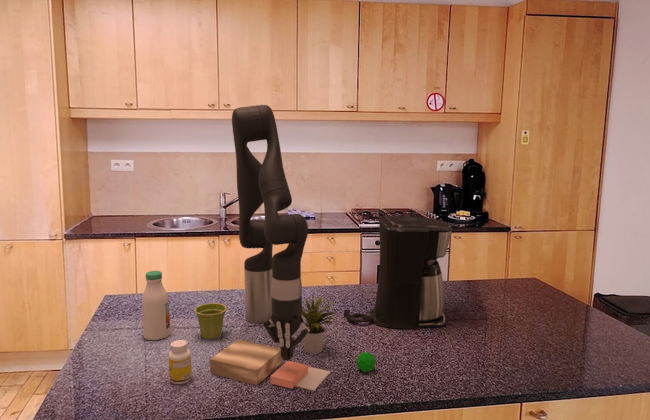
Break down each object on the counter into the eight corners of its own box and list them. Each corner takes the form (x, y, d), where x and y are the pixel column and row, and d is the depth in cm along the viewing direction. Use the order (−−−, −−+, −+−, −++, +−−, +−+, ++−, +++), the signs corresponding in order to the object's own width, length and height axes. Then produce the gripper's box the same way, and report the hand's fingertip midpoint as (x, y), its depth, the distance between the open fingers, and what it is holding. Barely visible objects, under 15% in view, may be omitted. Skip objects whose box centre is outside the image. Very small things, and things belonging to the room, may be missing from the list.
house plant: (300, 367, 133) (300, 309, 131) (277, 347, 145) (276, 293, 142) (345, 354, 141) (345, 299, 138) (319, 337, 152) (319, 285, 150)
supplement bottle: (172, 374, 129) (170, 338, 128) (193, 373, 130) (192, 338, 128) (167, 385, 124) (165, 348, 122) (189, 384, 124) (188, 347, 123)
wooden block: (238, 353, 142) (238, 339, 141) (282, 362, 136) (282, 348, 135) (210, 373, 130) (209, 359, 129) (256, 385, 124) (256, 370, 124)
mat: (289, 363, 136) (289, 362, 136) (330, 372, 131) (330, 371, 131) (271, 380, 127) (271, 379, 127) (314, 390, 122) (314, 389, 122)
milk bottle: (162, 342, 148) (158, 277, 145) (138, 339, 150) (134, 275, 146) (174, 331, 156) (172, 269, 152) (152, 329, 157) (148, 268, 154)
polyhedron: (374, 375, 129) (374, 358, 129) (355, 374, 130) (355, 357, 129) (375, 366, 134) (376, 350, 133) (357, 365, 135) (357, 348, 134)
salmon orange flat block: (308, 365, 130) (308, 372, 130) (287, 360, 132) (287, 367, 133) (291, 381, 122) (291, 388, 122) (270, 376, 124) (270, 383, 125)
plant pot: (232, 331, 156) (232, 305, 154) (216, 344, 147) (216, 316, 146) (206, 327, 159) (205, 301, 157) (189, 339, 150) (188, 312, 149)
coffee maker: (460, 324, 163) (466, 222, 158) (375, 342, 149) (378, 231, 143) (418, 301, 183) (421, 211, 178) (339, 316, 169) (341, 218, 164)
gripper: (317, 293, 125) (317, 358, 128) (271, 286, 130) (271, 348, 133) (303, 302, 118) (303, 371, 121) (255, 294, 124) (256, 360, 127)
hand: (287, 359), depth 127 cm, fingers closed
